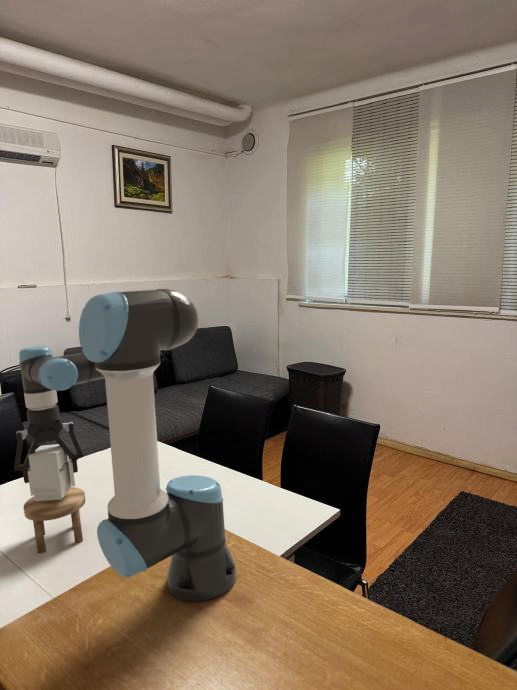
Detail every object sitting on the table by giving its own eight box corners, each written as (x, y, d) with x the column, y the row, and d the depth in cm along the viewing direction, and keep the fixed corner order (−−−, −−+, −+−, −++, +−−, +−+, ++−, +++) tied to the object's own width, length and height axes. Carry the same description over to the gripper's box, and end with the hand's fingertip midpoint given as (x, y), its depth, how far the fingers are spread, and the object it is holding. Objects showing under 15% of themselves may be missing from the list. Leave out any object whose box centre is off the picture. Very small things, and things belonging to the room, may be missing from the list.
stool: (92, 543, 124) (87, 503, 123) (28, 560, 118) (22, 519, 117) (86, 518, 138) (82, 482, 136) (29, 533, 132) (24, 495, 130)
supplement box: (62, 499, 123) (55, 452, 121) (33, 501, 123) (26, 454, 121) (73, 487, 130) (67, 442, 128) (46, 489, 130) (40, 444, 128)
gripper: (85, 396, 131) (95, 474, 134) (-5, 410, 122) (7, 493, 125) (88, 402, 124) (98, 484, 127) (-8, 417, 115) (6, 505, 118)
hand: (53, 488), depth 126 cm, fingers closed on supplement box, 9 cm apart
